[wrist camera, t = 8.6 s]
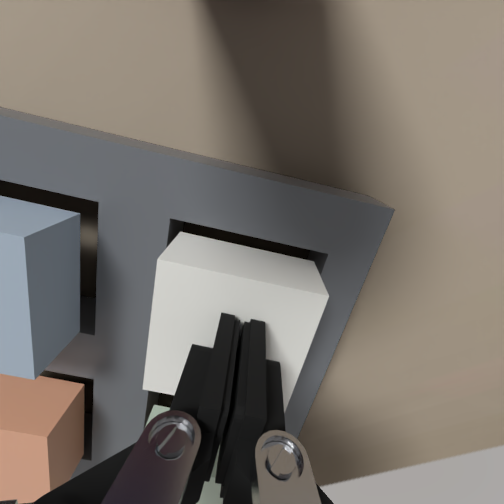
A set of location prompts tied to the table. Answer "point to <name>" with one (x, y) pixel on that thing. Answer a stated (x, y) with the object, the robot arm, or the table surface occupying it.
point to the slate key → (37, 285)
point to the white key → (230, 305)
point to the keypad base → (159, 238)
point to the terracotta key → (38, 435)
